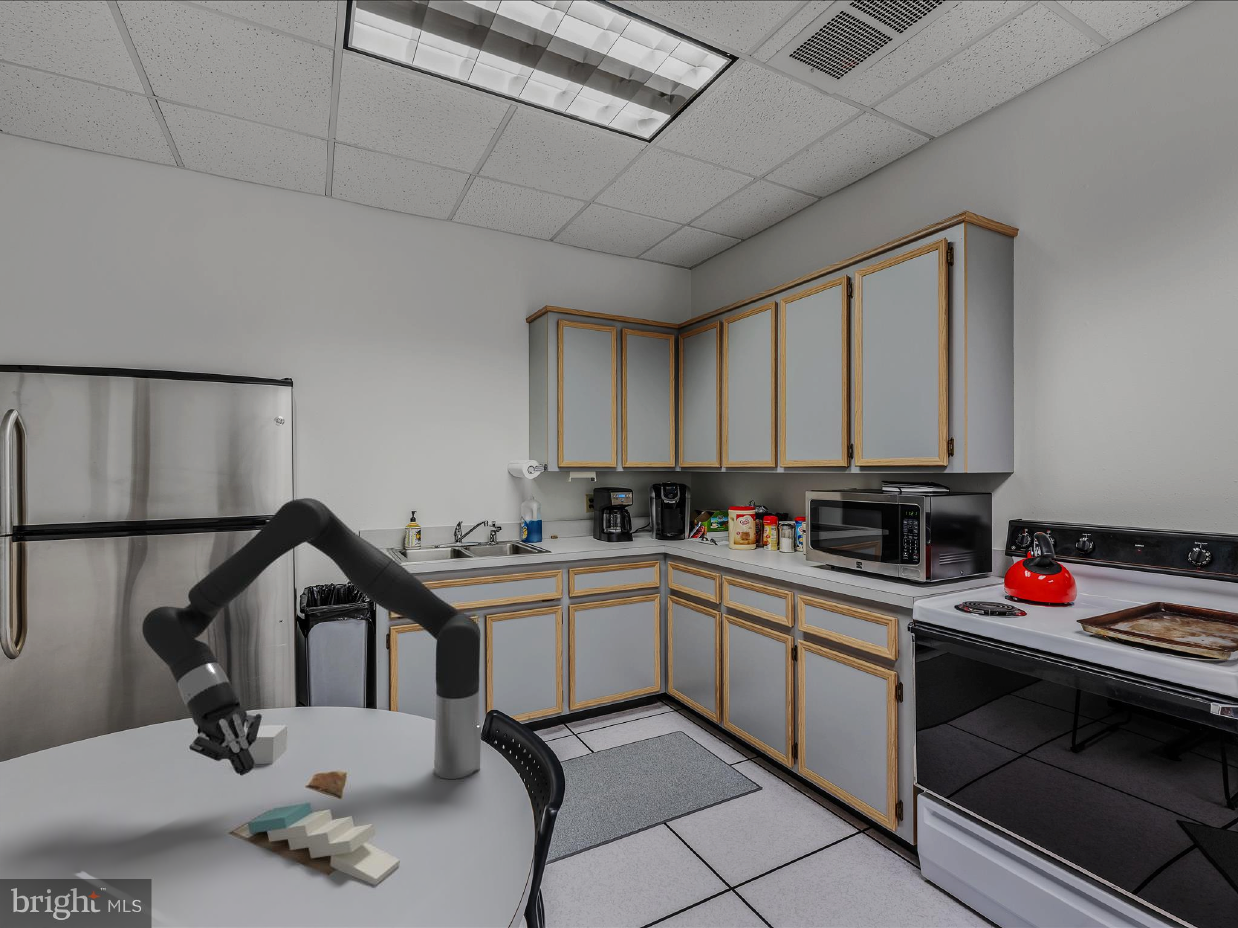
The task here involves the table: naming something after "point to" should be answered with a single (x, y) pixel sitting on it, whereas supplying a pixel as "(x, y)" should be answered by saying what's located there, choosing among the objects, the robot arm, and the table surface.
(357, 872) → the domino
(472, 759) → the robot arm
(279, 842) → the board
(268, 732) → the white cube
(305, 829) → the domino
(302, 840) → the domino
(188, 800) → the table surface
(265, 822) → the teal domino
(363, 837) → the domino
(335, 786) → the shard
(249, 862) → the table surface
